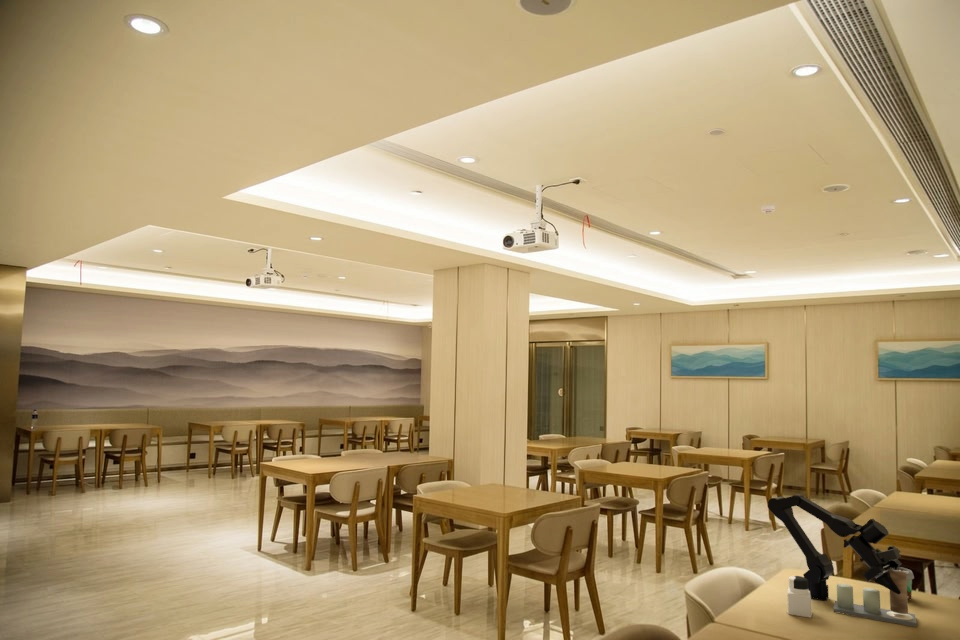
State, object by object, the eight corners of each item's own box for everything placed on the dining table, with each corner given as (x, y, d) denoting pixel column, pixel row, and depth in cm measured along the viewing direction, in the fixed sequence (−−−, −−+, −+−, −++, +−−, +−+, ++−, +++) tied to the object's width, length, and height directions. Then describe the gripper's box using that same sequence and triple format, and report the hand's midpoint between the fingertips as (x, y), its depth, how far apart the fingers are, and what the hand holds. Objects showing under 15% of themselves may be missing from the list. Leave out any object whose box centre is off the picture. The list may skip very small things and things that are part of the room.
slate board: (833, 612, 221) (833, 607, 221) (834, 604, 230) (834, 600, 230) (916, 626, 209) (916, 622, 209) (915, 617, 217) (914, 613, 217)
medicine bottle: (810, 611, 221) (809, 576, 222) (811, 618, 215) (810, 581, 216) (787, 608, 224) (786, 573, 225) (788, 614, 218) (787, 578, 219)
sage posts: (837, 607, 223) (836, 586, 224) (837, 603, 227) (836, 582, 228) (880, 614, 216) (879, 593, 217) (880, 610, 220) (879, 589, 221)
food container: (921, 603, 233) (920, 575, 234) (902, 601, 234) (901, 573, 235) (906, 592, 245) (905, 566, 246) (888, 591, 246) (887, 564, 247)
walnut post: (887, 610, 216) (886, 571, 217) (894, 607, 219) (892, 568, 220) (904, 614, 212) (902, 574, 213) (910, 612, 215) (908, 572, 216)
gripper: (872, 541, 215) (910, 584, 205) (894, 535, 227) (931, 574, 217) (848, 560, 221) (884, 602, 211) (870, 552, 232) (906, 592, 222)
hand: (902, 592), depth 215 cm, fingers closed on walnut post, 5 cm apart
